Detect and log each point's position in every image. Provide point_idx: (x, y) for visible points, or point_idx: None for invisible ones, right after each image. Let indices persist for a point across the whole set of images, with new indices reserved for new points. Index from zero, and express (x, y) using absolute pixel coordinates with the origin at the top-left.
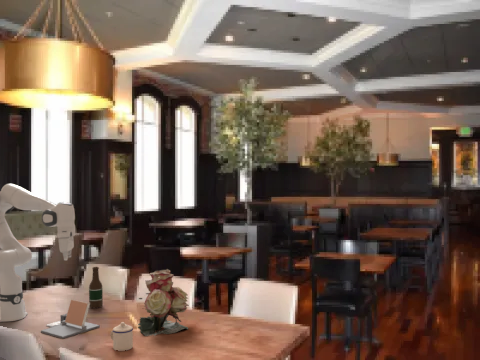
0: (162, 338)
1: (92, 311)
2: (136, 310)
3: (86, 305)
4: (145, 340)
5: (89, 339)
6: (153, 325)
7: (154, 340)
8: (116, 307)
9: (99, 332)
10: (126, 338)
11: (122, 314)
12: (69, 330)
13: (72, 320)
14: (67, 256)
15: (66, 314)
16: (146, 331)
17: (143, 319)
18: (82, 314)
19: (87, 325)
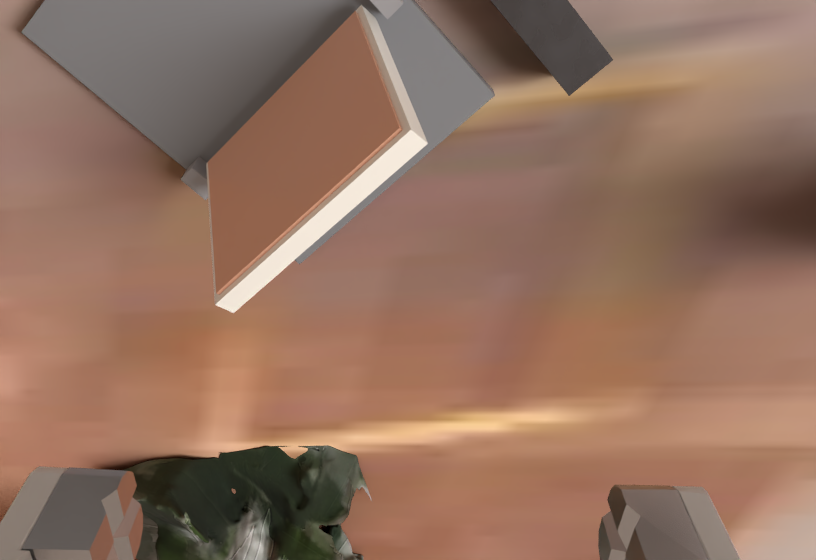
0: None
1: (779, 180)
2: (649, 442)
3: (218, 277)
4: (27, 471)
5: (26, 214)
6: (164, 531)
7: None
8: (803, 336)
9: (180, 262)
10: None
11: (584, 374)
12: (188, 63)
13: (292, 91)
14: (632, 516)
15: (536, 4)
16: None
17: (173, 521)
18: (225, 205)
19: None
